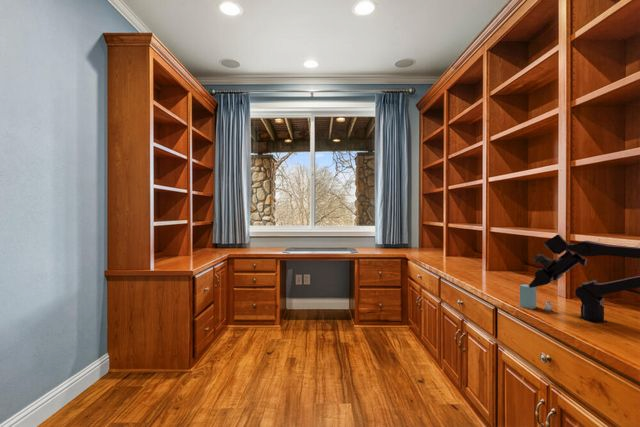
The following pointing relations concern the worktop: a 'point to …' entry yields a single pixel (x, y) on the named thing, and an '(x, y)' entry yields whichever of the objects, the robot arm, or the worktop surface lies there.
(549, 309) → the post
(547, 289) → the worktop surface
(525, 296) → the pale teal block
